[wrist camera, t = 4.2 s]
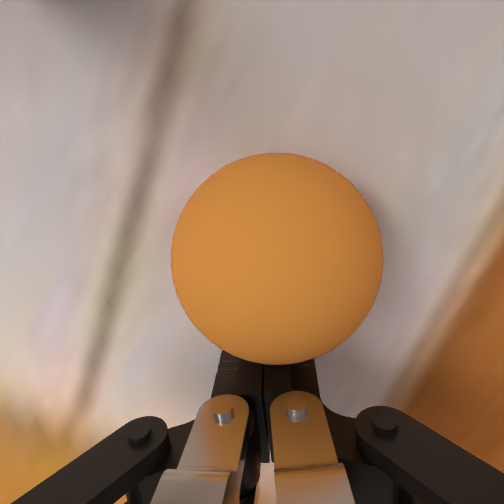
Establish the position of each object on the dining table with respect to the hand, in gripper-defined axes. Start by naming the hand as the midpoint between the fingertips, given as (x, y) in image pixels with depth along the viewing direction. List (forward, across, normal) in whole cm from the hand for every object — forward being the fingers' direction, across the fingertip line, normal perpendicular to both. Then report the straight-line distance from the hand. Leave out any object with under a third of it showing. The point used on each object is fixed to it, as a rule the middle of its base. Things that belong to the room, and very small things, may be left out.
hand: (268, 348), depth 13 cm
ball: (-2, -1, -4) cm, 4 cm away
